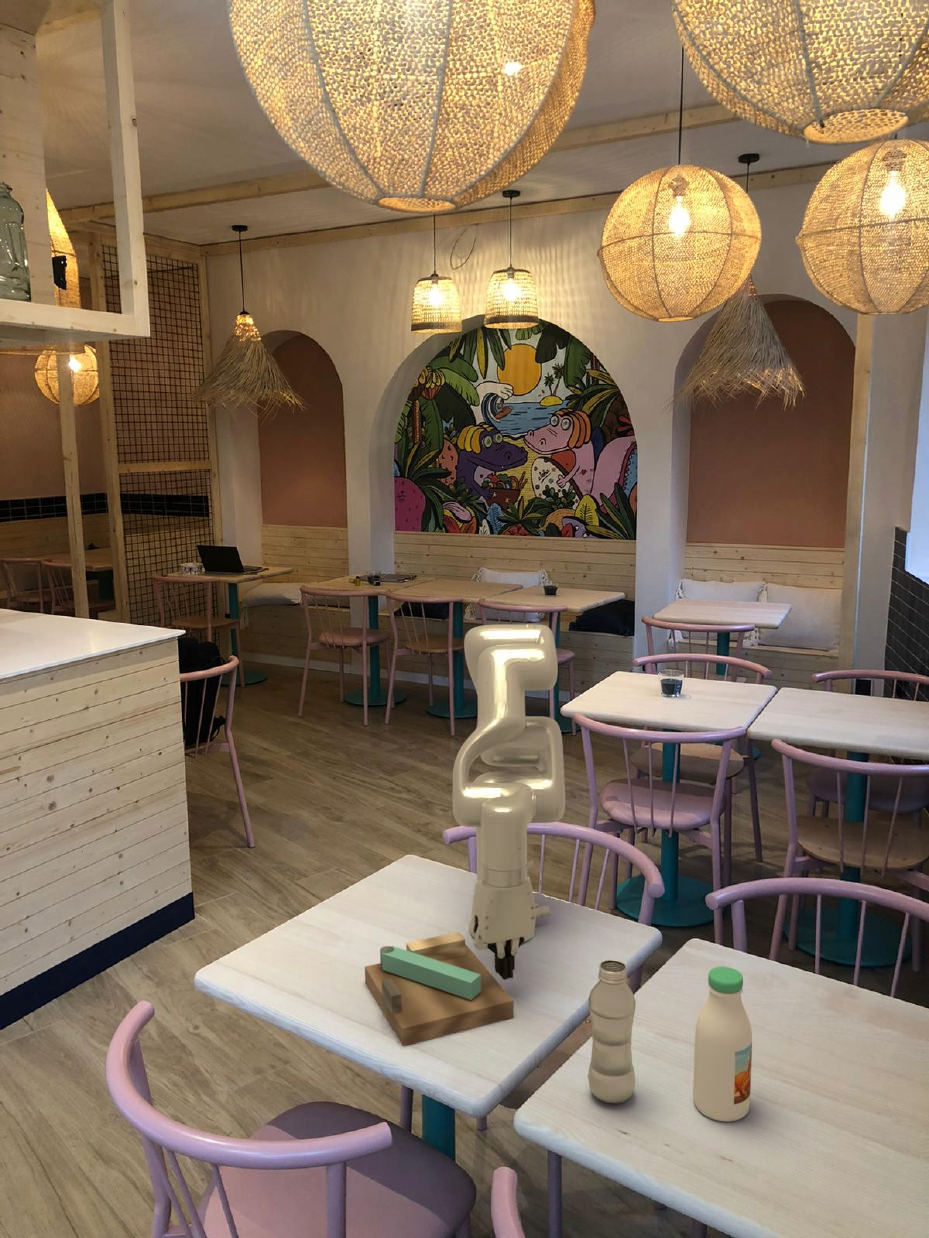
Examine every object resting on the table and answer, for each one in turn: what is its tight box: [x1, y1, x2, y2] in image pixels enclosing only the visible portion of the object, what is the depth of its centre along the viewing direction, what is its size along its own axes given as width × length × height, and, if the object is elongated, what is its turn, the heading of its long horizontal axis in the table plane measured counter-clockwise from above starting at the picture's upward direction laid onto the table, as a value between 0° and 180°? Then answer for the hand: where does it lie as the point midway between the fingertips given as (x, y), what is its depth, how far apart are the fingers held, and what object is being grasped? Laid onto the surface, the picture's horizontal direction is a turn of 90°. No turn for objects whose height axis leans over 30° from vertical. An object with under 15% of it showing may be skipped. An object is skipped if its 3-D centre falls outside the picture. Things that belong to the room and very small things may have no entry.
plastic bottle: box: [587, 959, 637, 1105], centre depth 138 cm, size 6×7×20 cm
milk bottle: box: [692, 966, 753, 1123], centre depth 136 cm, size 8×8×20 cm
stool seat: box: [364, 931, 514, 1047], centre depth 164 cm, size 19×20×6 cm
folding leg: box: [379, 945, 481, 1000], centre depth 164 cm, size 19×3×3 cm, turn 58°
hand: (504, 974), depth 164 cm, fingers closed
